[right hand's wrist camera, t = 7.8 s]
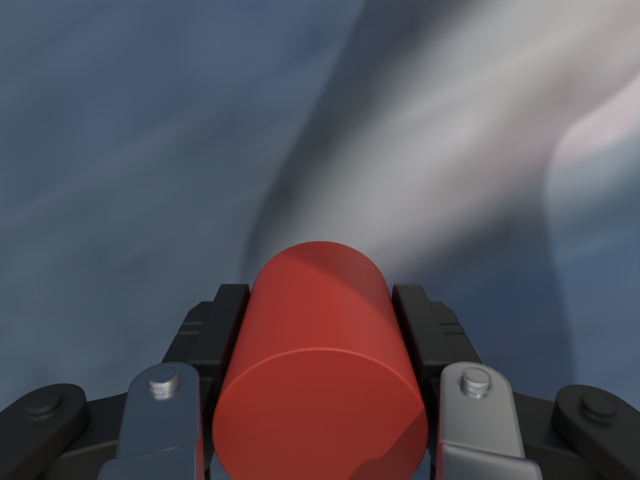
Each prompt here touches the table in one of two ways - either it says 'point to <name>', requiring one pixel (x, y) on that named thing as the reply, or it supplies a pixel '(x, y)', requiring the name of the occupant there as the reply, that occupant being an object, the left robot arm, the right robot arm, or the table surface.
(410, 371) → the can
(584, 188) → the table surface
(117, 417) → the right robot arm
